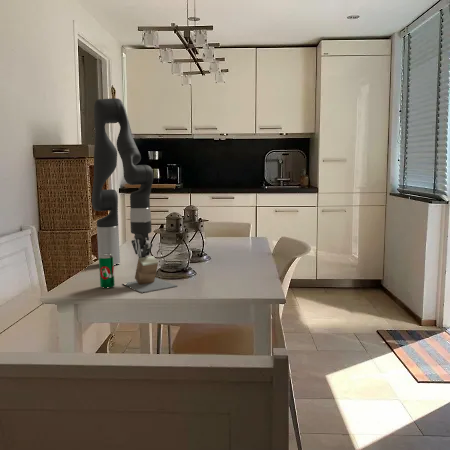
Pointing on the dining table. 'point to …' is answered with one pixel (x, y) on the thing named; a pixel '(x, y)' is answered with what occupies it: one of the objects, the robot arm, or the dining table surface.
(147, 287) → the mat
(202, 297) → the dining table surface
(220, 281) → the dining table surface
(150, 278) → the block
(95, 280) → the dining table surface
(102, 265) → the soda can
